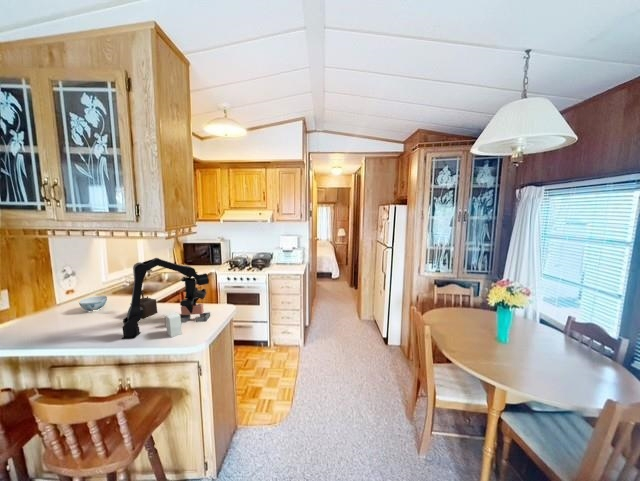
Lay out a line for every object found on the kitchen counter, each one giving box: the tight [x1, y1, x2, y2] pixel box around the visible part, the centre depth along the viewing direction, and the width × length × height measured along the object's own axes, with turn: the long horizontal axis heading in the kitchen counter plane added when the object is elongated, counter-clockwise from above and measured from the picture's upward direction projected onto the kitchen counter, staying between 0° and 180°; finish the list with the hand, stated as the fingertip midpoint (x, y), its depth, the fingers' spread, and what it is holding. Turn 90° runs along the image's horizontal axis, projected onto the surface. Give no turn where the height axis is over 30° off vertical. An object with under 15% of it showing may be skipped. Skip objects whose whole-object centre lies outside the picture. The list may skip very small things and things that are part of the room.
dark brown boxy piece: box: [130, 289, 158, 320], centre depth 176 cm, size 16×11×18 cm
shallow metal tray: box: [179, 312, 211, 324], centre depth 167 cm, size 18×8×2 cm, turn 96°
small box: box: [164, 312, 183, 338], centre depth 148 cm, size 8×6×10 cm
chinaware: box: [78, 295, 108, 312], centre depth 186 cm, size 15×15×8 cm
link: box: [180, 303, 205, 315], centre depth 166 cm, size 12×4×6 cm, turn 96°
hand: (192, 311), depth 166 cm, fingers closed on link, 3 cm apart
